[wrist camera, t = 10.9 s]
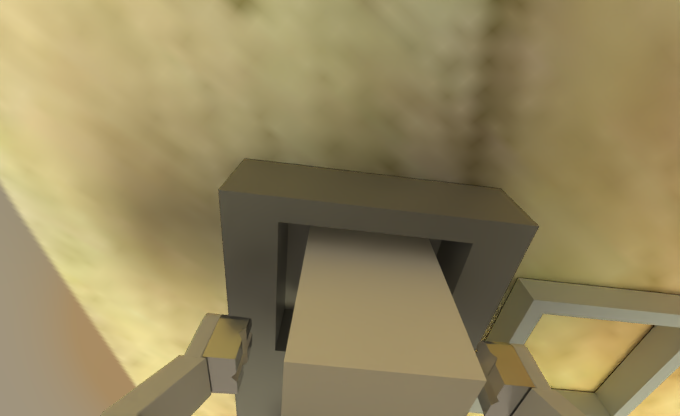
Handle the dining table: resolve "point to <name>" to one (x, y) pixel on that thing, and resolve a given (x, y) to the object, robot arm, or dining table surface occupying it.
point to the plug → (376, 331)
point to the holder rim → (606, 304)
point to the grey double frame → (361, 215)
